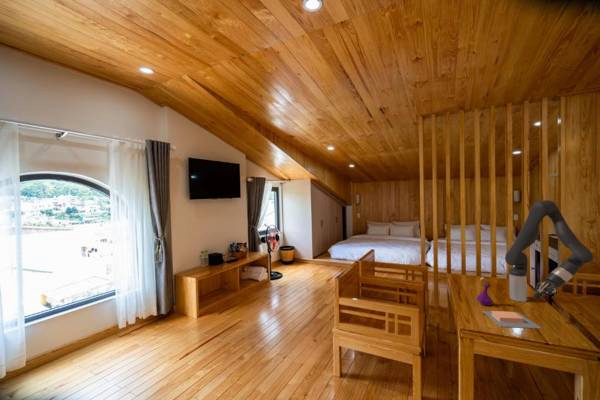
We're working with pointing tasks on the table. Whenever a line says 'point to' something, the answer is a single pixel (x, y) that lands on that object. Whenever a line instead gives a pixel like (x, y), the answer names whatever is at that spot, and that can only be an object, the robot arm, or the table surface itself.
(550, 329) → the table surface
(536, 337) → the table surface
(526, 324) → the mat
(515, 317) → the tile
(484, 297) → the perfume bottle
